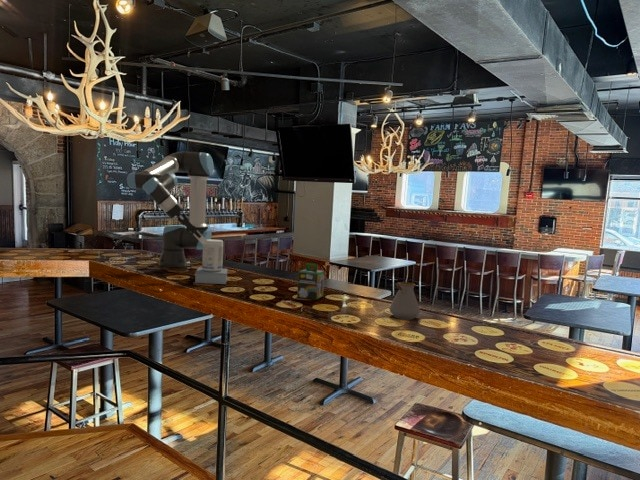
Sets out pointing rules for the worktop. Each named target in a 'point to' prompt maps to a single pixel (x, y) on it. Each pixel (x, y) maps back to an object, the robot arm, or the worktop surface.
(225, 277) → the slate-blue box
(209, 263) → the supplement tub
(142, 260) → the worktop surface
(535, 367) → the worktop surface
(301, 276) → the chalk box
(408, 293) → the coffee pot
